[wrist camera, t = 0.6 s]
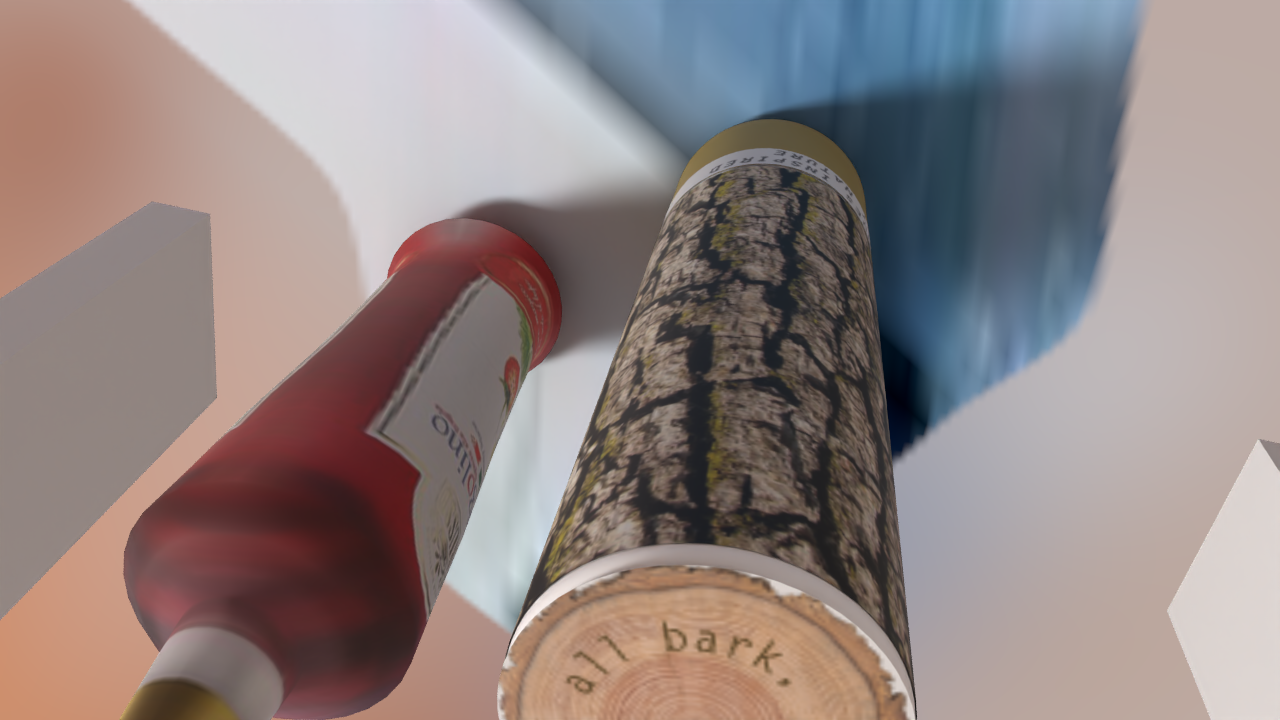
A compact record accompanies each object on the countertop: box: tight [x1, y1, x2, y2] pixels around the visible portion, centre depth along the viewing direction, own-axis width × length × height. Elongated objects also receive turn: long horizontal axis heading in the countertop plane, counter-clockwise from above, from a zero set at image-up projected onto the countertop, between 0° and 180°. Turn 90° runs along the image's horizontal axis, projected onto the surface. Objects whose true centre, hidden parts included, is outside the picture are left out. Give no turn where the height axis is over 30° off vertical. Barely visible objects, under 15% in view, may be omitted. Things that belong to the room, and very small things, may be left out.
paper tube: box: [497, 119, 917, 720], centre depth 28 cm, size 7×7×25 cm
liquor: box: [119, 218, 562, 720], centre depth 30 cm, size 7×7×28 cm
